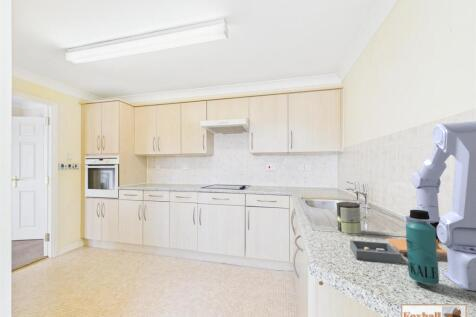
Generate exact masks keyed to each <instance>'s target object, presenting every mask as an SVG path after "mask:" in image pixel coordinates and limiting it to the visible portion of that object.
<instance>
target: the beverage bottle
mask: <svg viewBox="0 0 476 317" xmlns="http://www.w3.org/2000/svg"><path fill="white" fill-rule="evenodd" d="M409 216H410V218H414V219H421V220H429V219H430V217H429V213H428V211H424V210H416V209H410V210H409ZM435 231H436V229H435V228H434V227H433V226H432V225H431V224H430V223H426V222H421V221H410V222H406V224H405V237H406V238H405V239H407V241H406V242H407V252H406V257H407V272H408V276H409V278H411V279H412V280H414V281H415V282H418V283H421V284H424V285H429V286H435V285H438V284H439V283H440V280H441V278H440V276H441V275H440V272H439V268H440V266H439V265H440V264H439V257H438V254H437V247H436V233H435Z"/></svg>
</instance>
